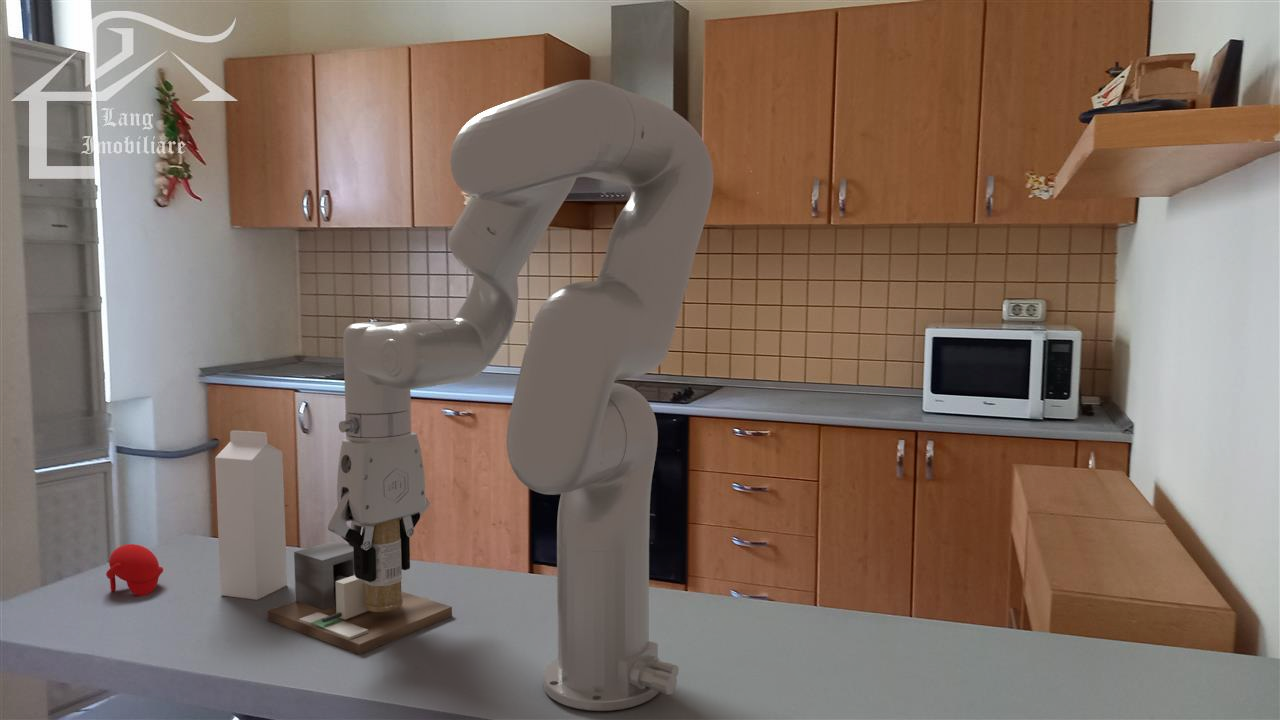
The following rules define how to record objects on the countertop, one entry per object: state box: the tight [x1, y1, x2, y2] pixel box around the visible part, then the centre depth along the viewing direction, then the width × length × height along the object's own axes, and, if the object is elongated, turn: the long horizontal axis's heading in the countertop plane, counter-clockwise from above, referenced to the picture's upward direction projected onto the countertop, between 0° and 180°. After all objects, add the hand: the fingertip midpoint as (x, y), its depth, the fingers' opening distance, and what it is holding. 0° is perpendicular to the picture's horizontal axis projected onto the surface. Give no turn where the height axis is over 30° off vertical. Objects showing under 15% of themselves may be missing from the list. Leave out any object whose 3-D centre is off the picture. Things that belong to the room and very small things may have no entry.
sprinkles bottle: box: [364, 519, 403, 612], centre depth 106 cm, size 5×5×13 cm
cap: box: [105, 543, 164, 597], centre depth 119 cm, size 8×6×6 cm
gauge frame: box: [266, 540, 453, 656], centre depth 109 cm, size 18×14×8 cm
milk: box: [214, 430, 288, 601], centre depth 118 cm, size 6×6×22 cm
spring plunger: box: [322, 575, 369, 622], centre depth 108 cm, size 7×10×4 cm, turn 145°
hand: (382, 571), depth 106 cm, fingers closed on sprinkles bottle, 4 cm apart
